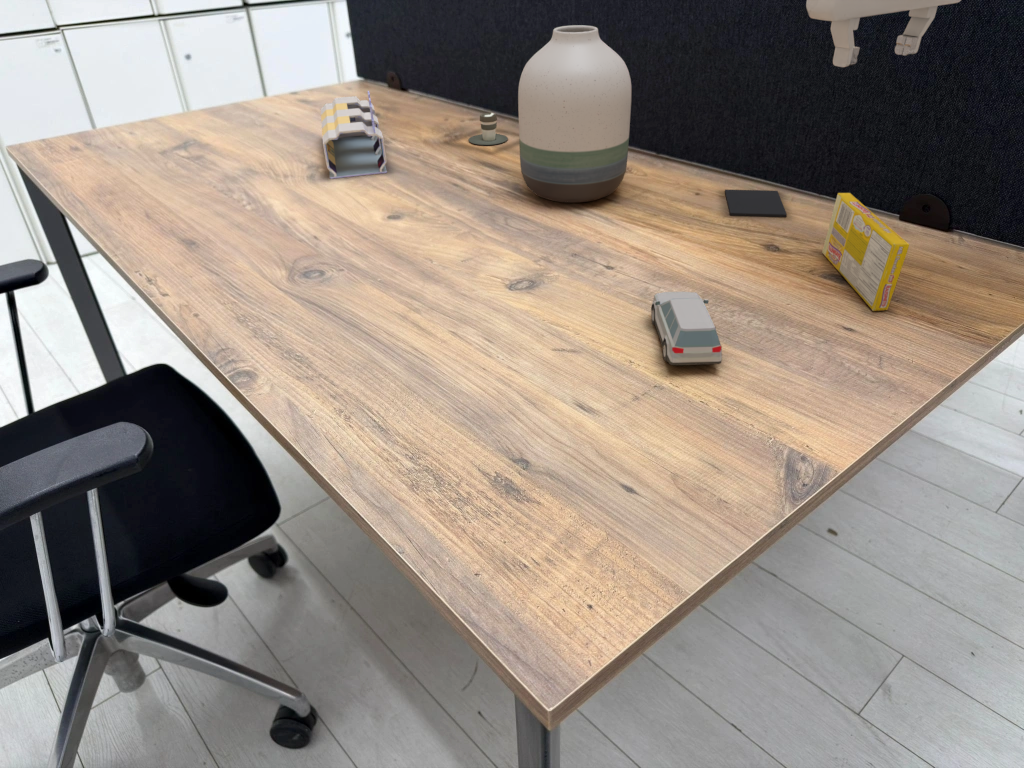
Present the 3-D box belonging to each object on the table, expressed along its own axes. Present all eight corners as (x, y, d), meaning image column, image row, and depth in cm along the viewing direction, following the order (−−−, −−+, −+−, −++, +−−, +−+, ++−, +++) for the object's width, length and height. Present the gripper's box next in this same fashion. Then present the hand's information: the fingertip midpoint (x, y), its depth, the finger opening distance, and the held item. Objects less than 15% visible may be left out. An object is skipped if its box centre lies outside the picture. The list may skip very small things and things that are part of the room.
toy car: (696, 312, 83) (701, 272, 80) (723, 374, 72) (730, 331, 70) (646, 313, 83) (649, 274, 80) (666, 376, 72) (670, 333, 70)
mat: (777, 193, 113) (777, 190, 113) (786, 217, 105) (786, 214, 105) (724, 191, 115) (725, 189, 114) (729, 215, 106) (730, 212, 106)
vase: (646, 189, 117) (659, 25, 103) (580, 220, 107) (584, 43, 93) (566, 168, 126) (568, 16, 113) (498, 195, 116) (491, 32, 103)
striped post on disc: (446, 142, 142) (444, 116, 139) (487, 128, 149) (486, 103, 146) (492, 153, 135) (491, 125, 132) (532, 137, 142) (532, 111, 140)
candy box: (890, 311, 82) (911, 243, 77) (871, 312, 82) (891, 244, 77) (836, 252, 95) (851, 190, 90) (820, 252, 95) (834, 191, 90)
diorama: (388, 172, 128) (378, 95, 120) (329, 179, 126) (315, 100, 118) (377, 134, 148) (367, 66, 140) (326, 139, 146) (313, 70, 138)
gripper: (864, -95, 61) (829, 78, 69) (1010, -104, 69) (964, 52, 77) (806, -94, 66) (779, 68, 74) (949, -104, 74) (911, 44, 82)
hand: (875, 59), depth 75 cm, fingers open, 8 cm apart
